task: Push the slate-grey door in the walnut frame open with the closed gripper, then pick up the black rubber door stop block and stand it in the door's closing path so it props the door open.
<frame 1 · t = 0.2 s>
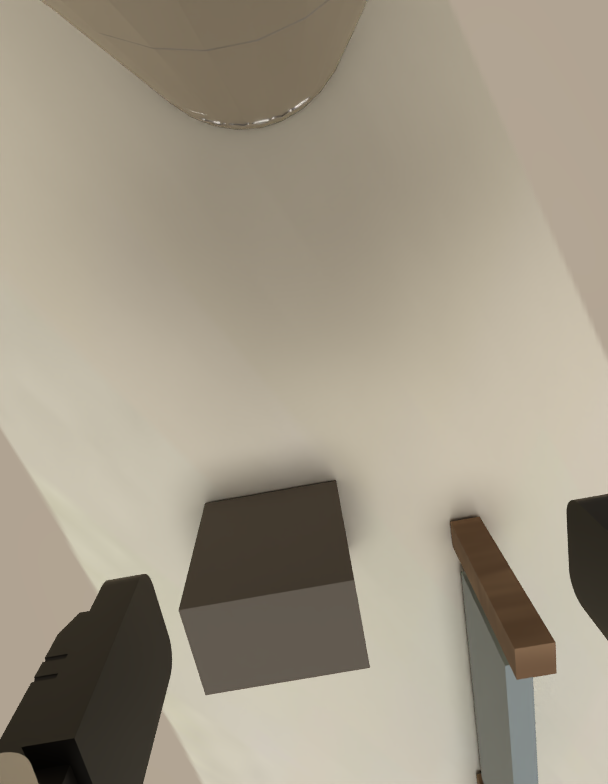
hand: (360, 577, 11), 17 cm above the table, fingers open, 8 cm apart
door frame: (478, 667, 34), on the table
stop block: (278, 528, 30), on the table
door: (515, 721, 30), point 4 cm above the table, hinge at 0.0°
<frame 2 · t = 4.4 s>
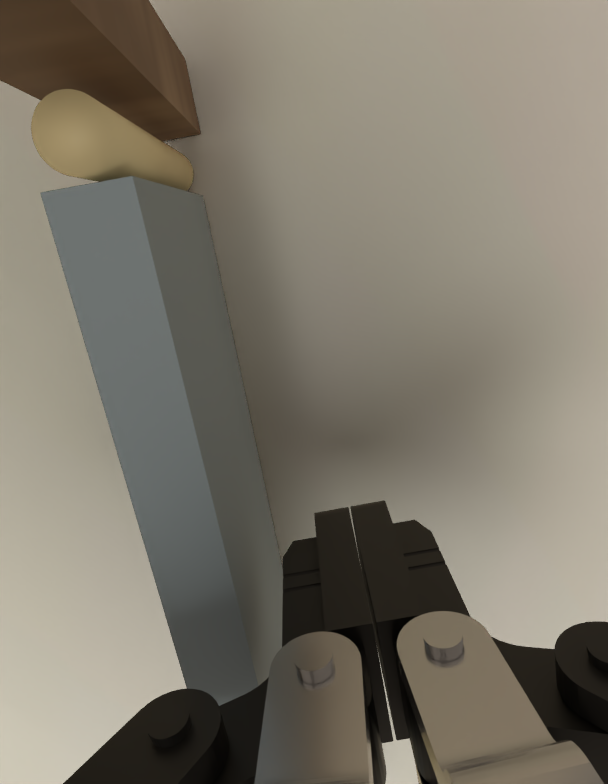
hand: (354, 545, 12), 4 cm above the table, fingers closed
door frame: (244, 476, 16), on the table
door: (265, 546, 13), point 4 cm above the table, hinge at 0.1°, touching gripper
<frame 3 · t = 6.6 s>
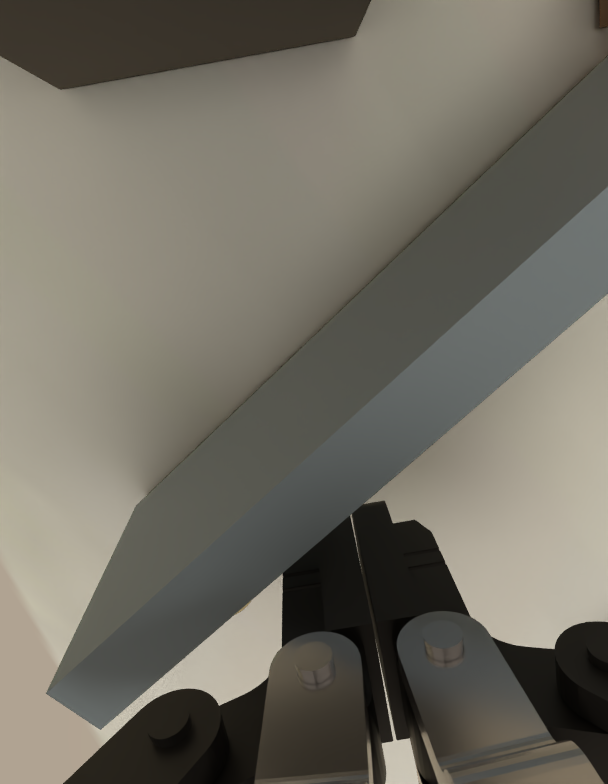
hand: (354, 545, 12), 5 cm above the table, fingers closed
door: (431, 356, 12), point 4 cm above the table, hinge at 55.7°, touching gripper
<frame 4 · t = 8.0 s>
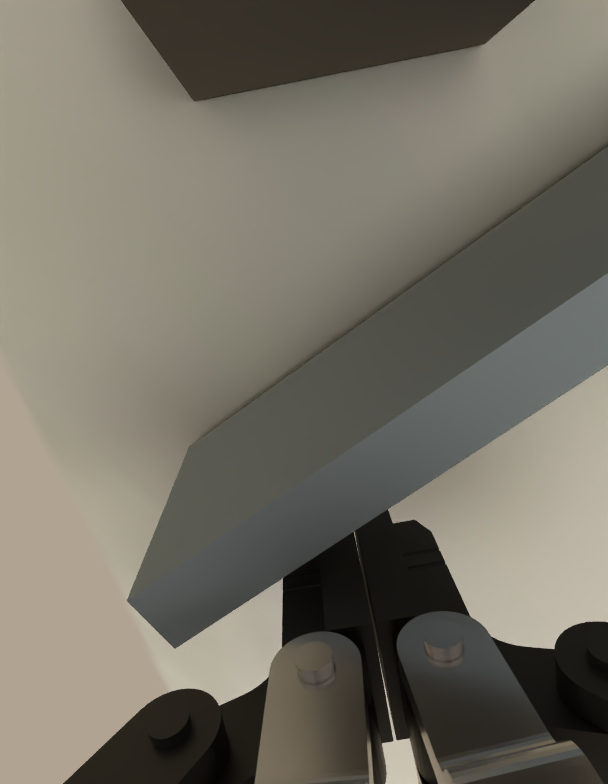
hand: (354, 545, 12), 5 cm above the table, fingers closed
door: (545, 315, 11), point 4 cm above the table, hinge at 64.3°, touching gripper
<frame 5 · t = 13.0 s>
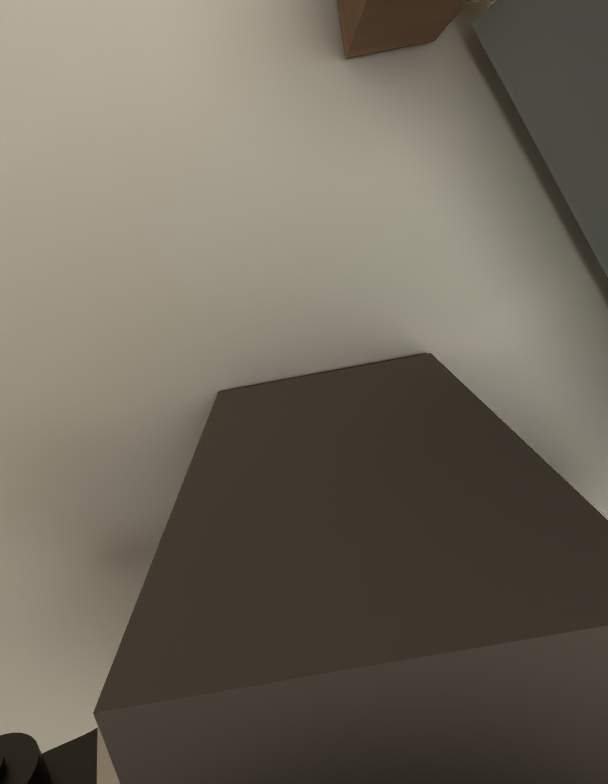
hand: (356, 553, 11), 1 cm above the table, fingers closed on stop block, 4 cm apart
stop block: (349, 518, 13), on the table, touching gripper
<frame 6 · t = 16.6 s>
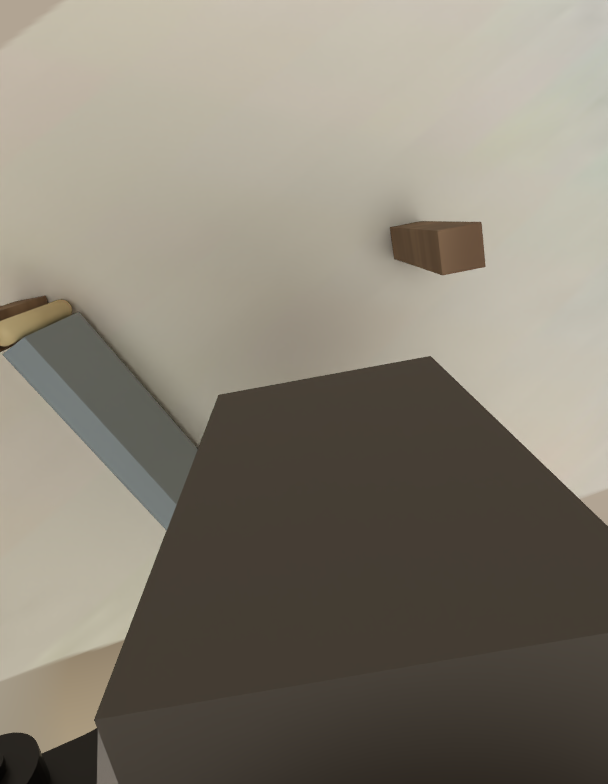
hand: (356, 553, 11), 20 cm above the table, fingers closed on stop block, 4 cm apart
door frame: (219, 277, 29), on the table
stop block: (349, 521, 13), point 18 cm above the table, touching gripper
door: (166, 444, 28), point 4 cm above the table, hinge at 64.6°
when the fingers open (3 cm above the table, at t = 20.3 s): stop block drops 1 cm, on the table.
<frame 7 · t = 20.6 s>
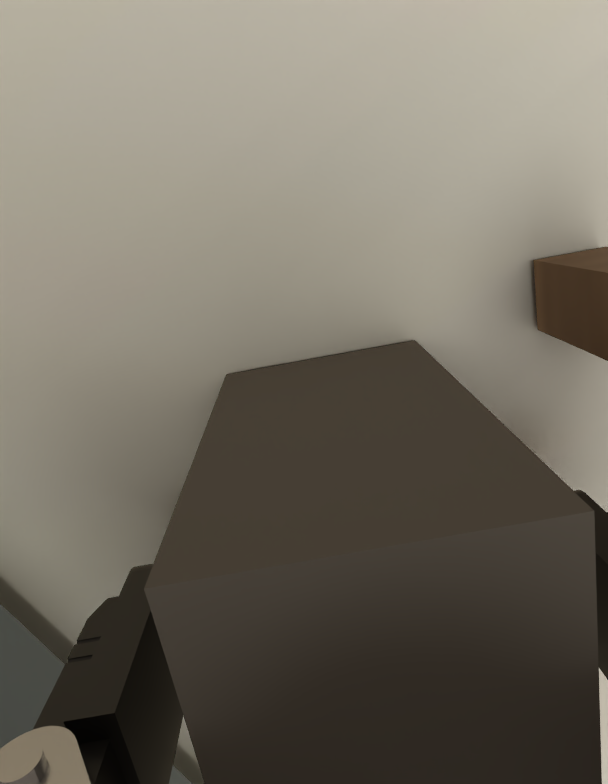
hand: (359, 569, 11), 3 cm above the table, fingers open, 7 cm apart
door frame: (146, 367, 13), on the table
stop block: (343, 489, 14), on the table
door: (5, 774, 12), point 4 cm above the table, hinge at 64.6°
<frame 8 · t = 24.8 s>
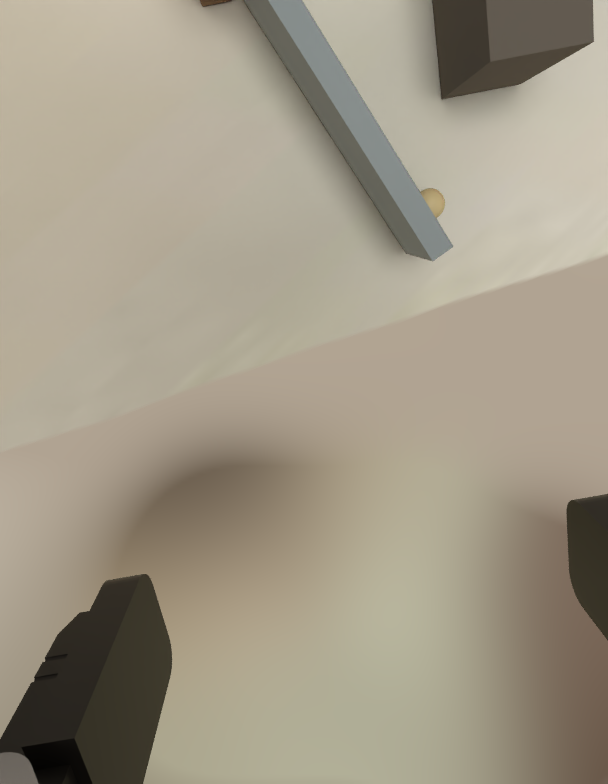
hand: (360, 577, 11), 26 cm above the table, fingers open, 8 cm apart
stop block: (475, 21, 31), on the table
door: (348, 96, 28), point 4 cm above the table, hinge at 64.6°
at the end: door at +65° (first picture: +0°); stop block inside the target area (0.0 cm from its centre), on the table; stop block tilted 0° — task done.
